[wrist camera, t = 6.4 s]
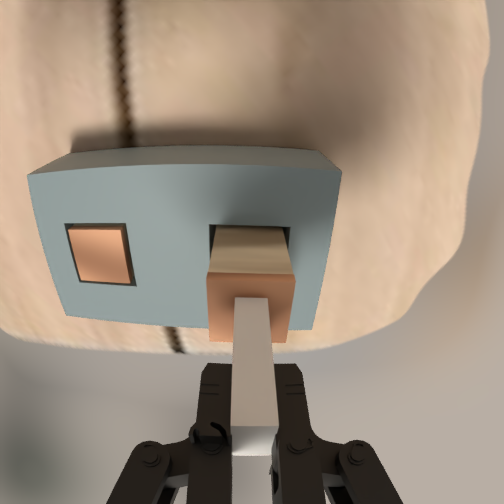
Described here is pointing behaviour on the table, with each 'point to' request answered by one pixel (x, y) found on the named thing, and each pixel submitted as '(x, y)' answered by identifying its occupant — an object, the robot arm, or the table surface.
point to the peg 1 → (102, 252)
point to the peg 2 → (249, 277)
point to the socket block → (183, 223)
